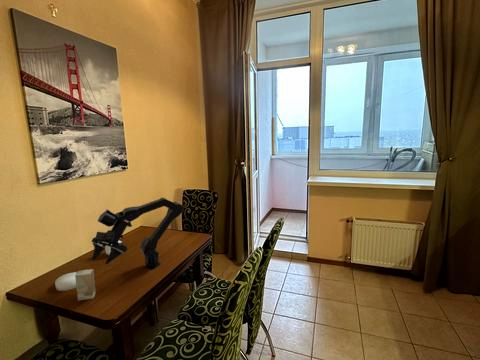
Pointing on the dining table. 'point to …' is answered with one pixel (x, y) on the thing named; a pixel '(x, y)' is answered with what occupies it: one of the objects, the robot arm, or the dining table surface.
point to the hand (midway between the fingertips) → (99, 262)
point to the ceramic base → (66, 282)
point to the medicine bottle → (108, 249)
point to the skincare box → (85, 284)
